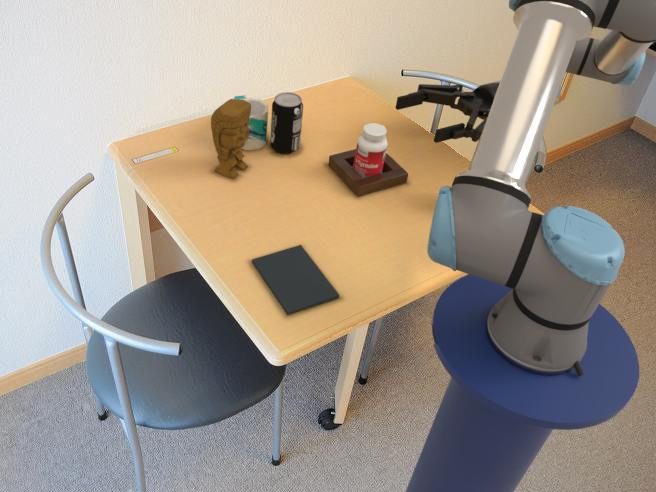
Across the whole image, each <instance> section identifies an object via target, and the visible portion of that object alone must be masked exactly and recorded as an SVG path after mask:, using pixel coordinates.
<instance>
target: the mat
mask: <svg viewBox="0 0 656 492" xmlns="http://www.w3.org/2000/svg"><path fill="white" fill-rule="evenodd" d="M251 263H252V265H253V266H254V268H255V269H256V271H257V272H258V274H259V275H260V277H261V278H262V280H263V281H264V283H265V284H266V286H267V288H268V289H269V290H270V292H271V293H272V294H273V296H274V298H275V299H276V301H277V302H278V303H279V305H280V307H281V308H282V309H283V311H284V313H285V314H286V315H287V316H291V315H293V314H296V313H299V312H302V311H305V310H308V309H310V308H314V307H317V306H320V305H323V304H327V303H329V302H332V301H335V300H337V299H339V298H340V294H339V292H338V291H337V290H336V288H335V287H334V286H333V284H332V283H331V282H330V280H328V278H327V277H326V275H325V274H324V273H323V271H322V270H321V269H320V268H319V266H318V265H317V264H316V262H315V261H314V260H313V258H312V257H311V255H309V253H308V252H307V251H306V249H305V248H304V247H303V245H302V244H299V245H295V246H292V247H288V248H286V249H281V250H278V251H275V252H272V253H269V254H266V255H262V256H258V257H256V258H252V259H251Z"/></svg>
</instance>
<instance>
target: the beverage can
mask: <svg viewBox="0 0 656 492" xmlns="http://www.w3.org/2000/svg"><path fill="white" fill-rule="evenodd" d="M302 101H303V99H302V97H301V96H300V95H299V94H298V93H295V92H291V91H284V92H280V93H279V92H278V93H277V94H276V95H275V96H274V100H273V102H272V104H271V119H270V121H271V122H270V124H271V125H270V142H269V144H270V148H272V149H273V151H274V152H275V153H277V154H280V155H292V154H294V153H296V152H297V151H298V150H300V148H301V139H302V127H303V116H304V115H303V114H304V103H303V102H302Z"/></svg>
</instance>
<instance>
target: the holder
mask: <svg viewBox="0 0 656 492" xmlns="http://www.w3.org/2000/svg"><path fill="white" fill-rule="evenodd" d="M355 153H356V148H354V149H351V150H347V151H342V152H338V153H333V154H330V155H329V156H328V163H327V165H328V167H329V168H330V169H331V170H332V172H334V173H335V174H336V176H337V177H339V178H340V180H341V181H342V182H343V183H344V184H345V185H346V186H347V187H348V188H349V190H351V191H352V193H353V194H354V195H355V196H356V197H363V196H365V195H369V194H372V193H376V192H379V191H383V190H387V189H391V188H394V187H397V186H402V185H405V184H407V181H408V178H409V172H408V171H406V170H405V168H404V167H403V166H401V165H400V164H399V162H397V161H396V160H395V159H394V158H392V156H391V155H390V154H388V153H387V152H386V156H385V161H384V165H383V170H382V173H381V174H377V175H373V176H370V177H366V178H362V177H361V176H360V175H359V174H358V173H357V172H356V171H355V170H354V169H353V164H354V158H355Z"/></svg>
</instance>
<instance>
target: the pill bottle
mask: <svg viewBox="0 0 656 492" xmlns="http://www.w3.org/2000/svg"><path fill="white" fill-rule="evenodd" d="M387 132H388V131H387V128H386V127H385V125H382V124H381V123H378V122H377V123H375V122H370V123H367V124H365V125H364V126H363V129H362V134H361V135H359V136H358V139H357V141H356V147H355V149H356V153H355V158H354V164H353V166H352V168H353V169H354V170H355V171H356V172H357V173H358V174H359V175H360V176H361V177H362V178H366V177H370V176H373V175H377V174H381V173H383V171H382V170H383V165H384V161H385V156H386V153H387V150H388V146H389V141H388V139H387Z"/></svg>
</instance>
